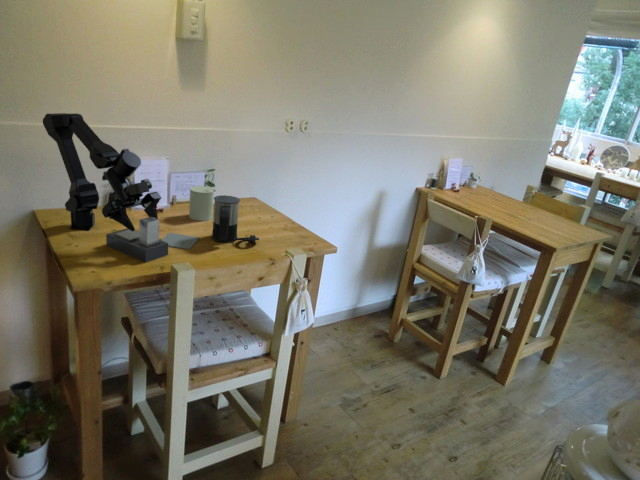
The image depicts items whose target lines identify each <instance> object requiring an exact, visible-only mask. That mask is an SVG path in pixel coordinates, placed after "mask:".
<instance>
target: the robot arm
mask: <svg viewBox="0 0 640 480" xmlns="http://www.w3.org/2000/svg"><path fill="white" fill-rule="evenodd" d="M42 125H43V127H44V129H45V131H46V133H47V135H48V136H50V137H51V139H53V141H55V142H56V145H57V148H58V150H59V153H60V156H61V159H62V162H63V164H64V168H65V171H66V173H67V176H68V179H69V182H70V187H69V191H68V195H69V198H68V200H67V201H66V202H65V203H64V207H65V210H66V211H67V212H70V221H71V223H70V226H69V229H71V230H82V231H83V230H84V231H90V230H91V229H92V228H93V227H94V226H95V225H96V219H95V212H94V210H97V209H98V206H99V201H100V195H99V194H100V192H99V191H98V190H97V185H96V183H94V182H90V181H89V180H88V179H87V177H86V174H85V172H84V168H83V166H82V162H81V160H80V156H79V154H78V152H77V148H76V145H75V143H74V138H73V137H74V135H75V136H76V137H77V138H78V140H79V141H80V142H81V143H82V144H83V146H85V148H86V149H87V151H88V152H89V159H90V160H91V162H92V163H93V165H94V166H95V168H96V169H99V170H102V169H103V170H104V169H107V170H106V171H103V172H102V176H101V177H102V178H101V180H102V181H103V182H105V181H107V182H108V183H109V185H110V186H111V189H112V190H113V192H112V196H113V197H117V199H114V200H108V202H107V203H106V204H105V205H104V206H103V207H102V209H101V214H102V215H103V217H104V219H105V218H108V219H109V220H114V221H115V222H117V223H118V224H120V225H122V226H123V227H125V229H127V228H128V229H129V230H131V231H134V230H136V229H135V227H134V224H133V222H132V221H131V219H130V217H129V215H128V213H127V209H129V208H133V207H137V206H141V207H142V208H144V209H143V211H144V213H145V214H146V215H147V216H148V217H154V218H156V219H159V218H158V217H159V216H158V210H157V206H158V203H160V201H161V199H162V196H161V194H160V193H159V192H157V191H152V192H150V189H152V188H153V186H152V182H151V181H150V179H149V178H145V179H141V180H140V182H138V183H136V182H135V181H131V180H130V179H129V178H130V177H131V176H132V175H133V174H134V173H135V172H136V170H138V168H139V167H140V166H141V165H142V160H141V158H140V157H139V156H138V155H137V154H136V153H134V152H132V151H130V149H129V148H123V149H121V150H120V153H119V152H118V150H117V149H116V148H114V147H113V146H112V145H110V144H108V143H106V142H104V141H103V140H101V138H99V136H98V135H97V133H95V132H94V130H93V129H92V128H91V127H90V126H89V124H87V122H86V121H85V120H84V116H83V115H82V114H80V113H66V112H64V113H63V112H58V113H57V112H55V113H46V114H45V115H44V117H43V118H42ZM144 193H146V194H145V195H144ZM142 197H143V198H142Z"/></svg>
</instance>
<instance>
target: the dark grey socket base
mask: <svg viewBox="0 0 640 480" xmlns="http://www.w3.org/2000/svg"><path fill="white" fill-rule="evenodd" d="M105 237H106V238H105V242H106V247H109V248H111V249H113V250H116V251H118V252H120V253H122V254H125V255H127V256H129V257H132V258H134V259H137V260H139V261H141V262H143V263H145V264H146V263H148V262H152V261H155V260H157V259H161V258H163V257H166V256H168V255H169V246H168V243H166V242H164V241H161V240H162V239H159V244H158V245H155V246H151V247H148V248H147V247H144V246H142V245H139V230H136V229H135V230H134V231H131V230H129V229H128V228H124V229H120V230H115V231H112V232H108V233H106V234H105Z"/></svg>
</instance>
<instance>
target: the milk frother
mask: <svg viewBox="0 0 640 480" xmlns="http://www.w3.org/2000/svg"><path fill="white" fill-rule="evenodd" d="M213 201H214V202H213V220H212V222H213V223H212V235H211V239H213V240H214V241H215V242H220V243H232V242H236V241H250V243H256V241H260V238H259V237H256V235H254V234H252V235H251V234H250V236H248V237H246V236H245V237H238V219H239V210H240V209H239V208H240V202H241V199H240V198H239V197H236V196H234V195H233V196H232V195H225V194H224V195H216V196H213Z"/></svg>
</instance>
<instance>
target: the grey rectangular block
mask: <svg viewBox="0 0 640 480" xmlns="http://www.w3.org/2000/svg"><path fill="white" fill-rule="evenodd" d="M138 222H139V227H138V229H139V230H138V231H139V245H142V246H144V247H147V248H148V247H151V246H155V245H158V244H159V240H160V237H159V236H160V219H159V218H158V219H156V218H154V217H149V216H148V217H145V218H140V219H139V221H138Z"/></svg>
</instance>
